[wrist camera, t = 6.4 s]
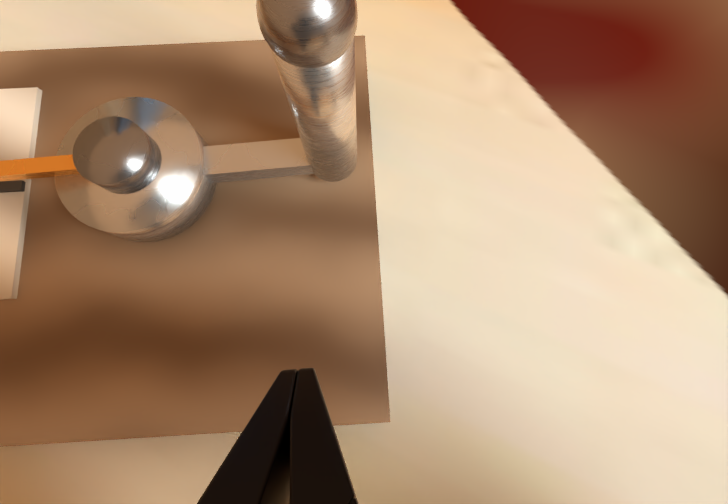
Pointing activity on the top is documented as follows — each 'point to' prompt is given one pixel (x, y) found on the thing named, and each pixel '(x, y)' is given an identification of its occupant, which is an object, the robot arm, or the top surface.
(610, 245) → the top surface
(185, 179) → the metal post and dome
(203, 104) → the stand
